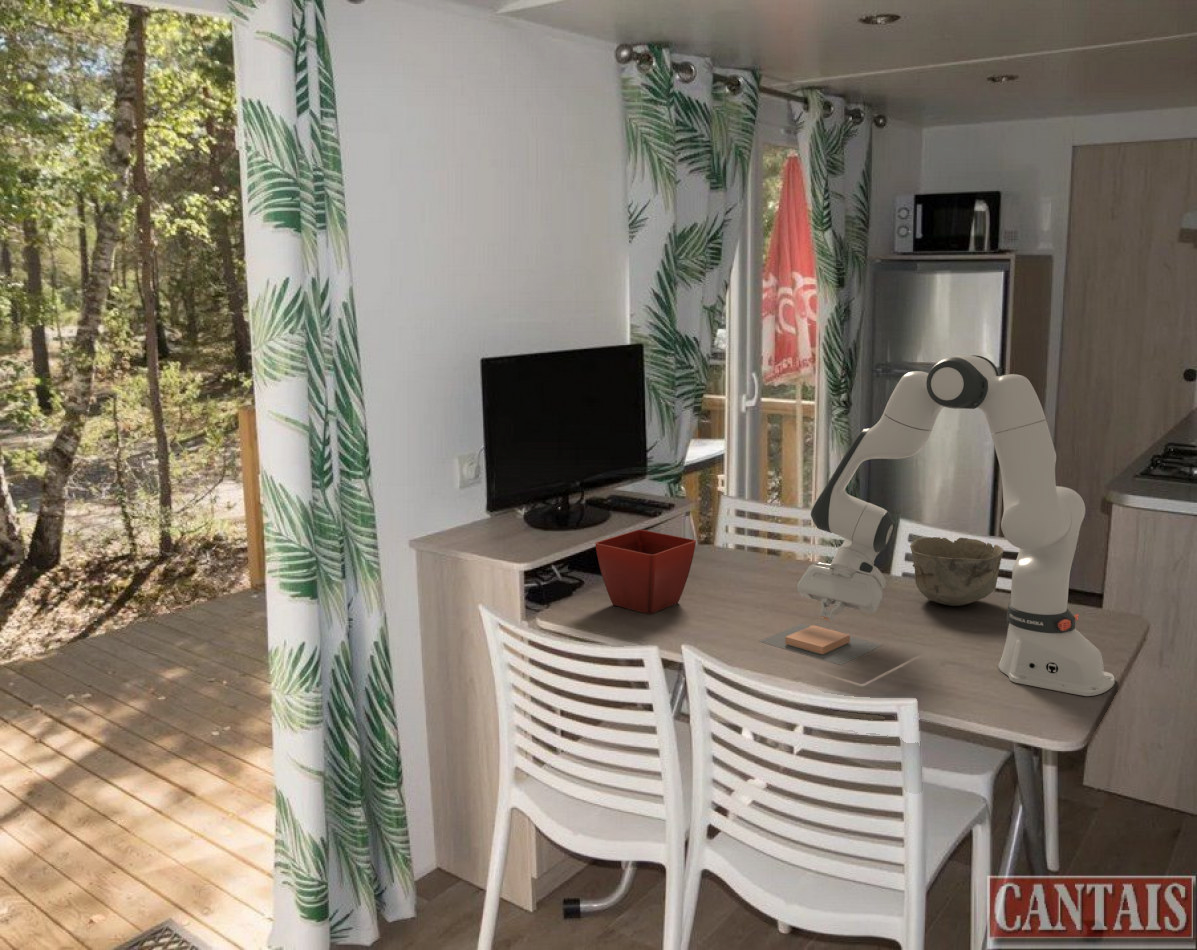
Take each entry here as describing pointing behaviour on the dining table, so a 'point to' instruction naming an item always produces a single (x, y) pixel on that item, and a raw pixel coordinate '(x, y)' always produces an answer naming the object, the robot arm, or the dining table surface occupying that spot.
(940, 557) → the bowl
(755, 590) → the dining table surface
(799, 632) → the tile
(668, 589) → the plant pot
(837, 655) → the mat
